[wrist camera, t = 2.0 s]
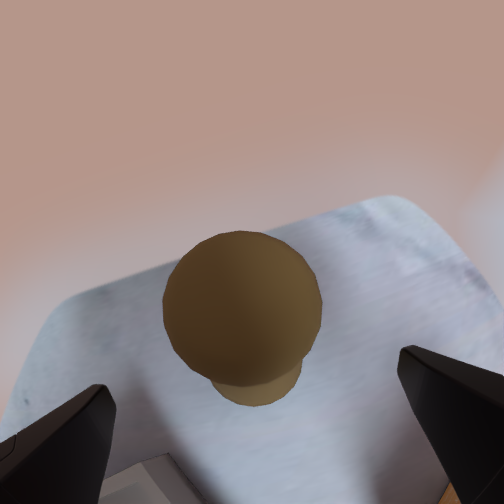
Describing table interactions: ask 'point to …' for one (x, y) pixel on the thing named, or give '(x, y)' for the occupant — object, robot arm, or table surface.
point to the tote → (150, 484)
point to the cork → (243, 314)
